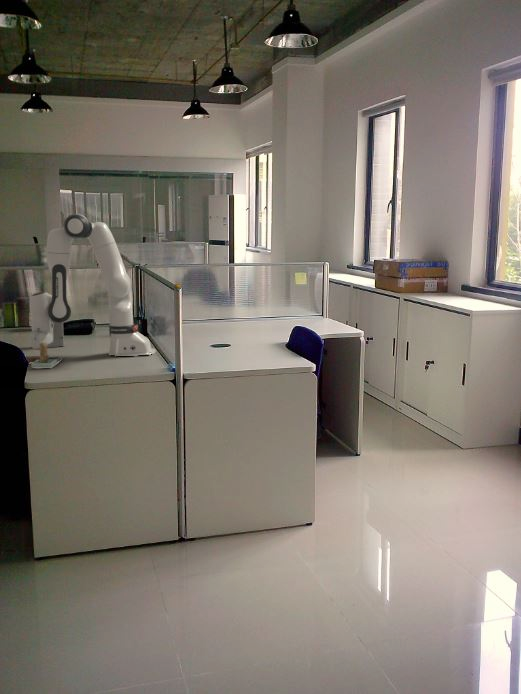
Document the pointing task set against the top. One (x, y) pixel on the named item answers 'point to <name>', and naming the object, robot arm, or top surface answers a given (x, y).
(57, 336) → the skincare box
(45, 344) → the dowel
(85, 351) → the top surface
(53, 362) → the tray
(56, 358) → the socket
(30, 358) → the block
